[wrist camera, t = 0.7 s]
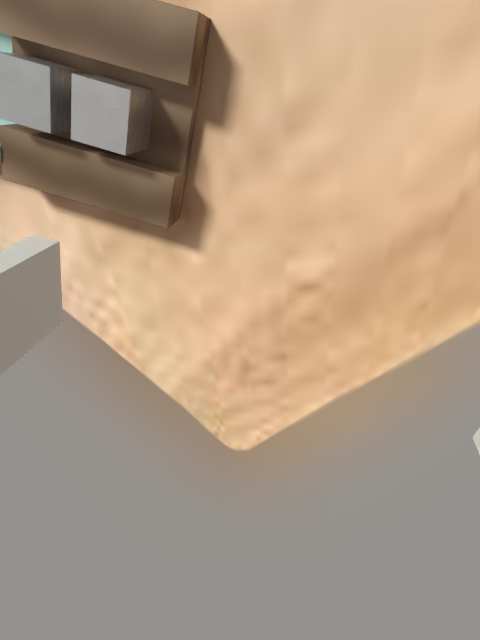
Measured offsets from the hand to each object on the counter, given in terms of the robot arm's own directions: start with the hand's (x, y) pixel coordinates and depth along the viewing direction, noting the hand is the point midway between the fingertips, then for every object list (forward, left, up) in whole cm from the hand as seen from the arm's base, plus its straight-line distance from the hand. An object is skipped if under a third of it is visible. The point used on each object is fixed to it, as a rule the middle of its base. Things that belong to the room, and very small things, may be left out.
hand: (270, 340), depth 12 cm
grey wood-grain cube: (-1, -15, -22) cm, 26 cm away
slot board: (-1, -17, -23) cm, 28 cm away
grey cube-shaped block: (-1, -20, -22) cm, 30 cm away
